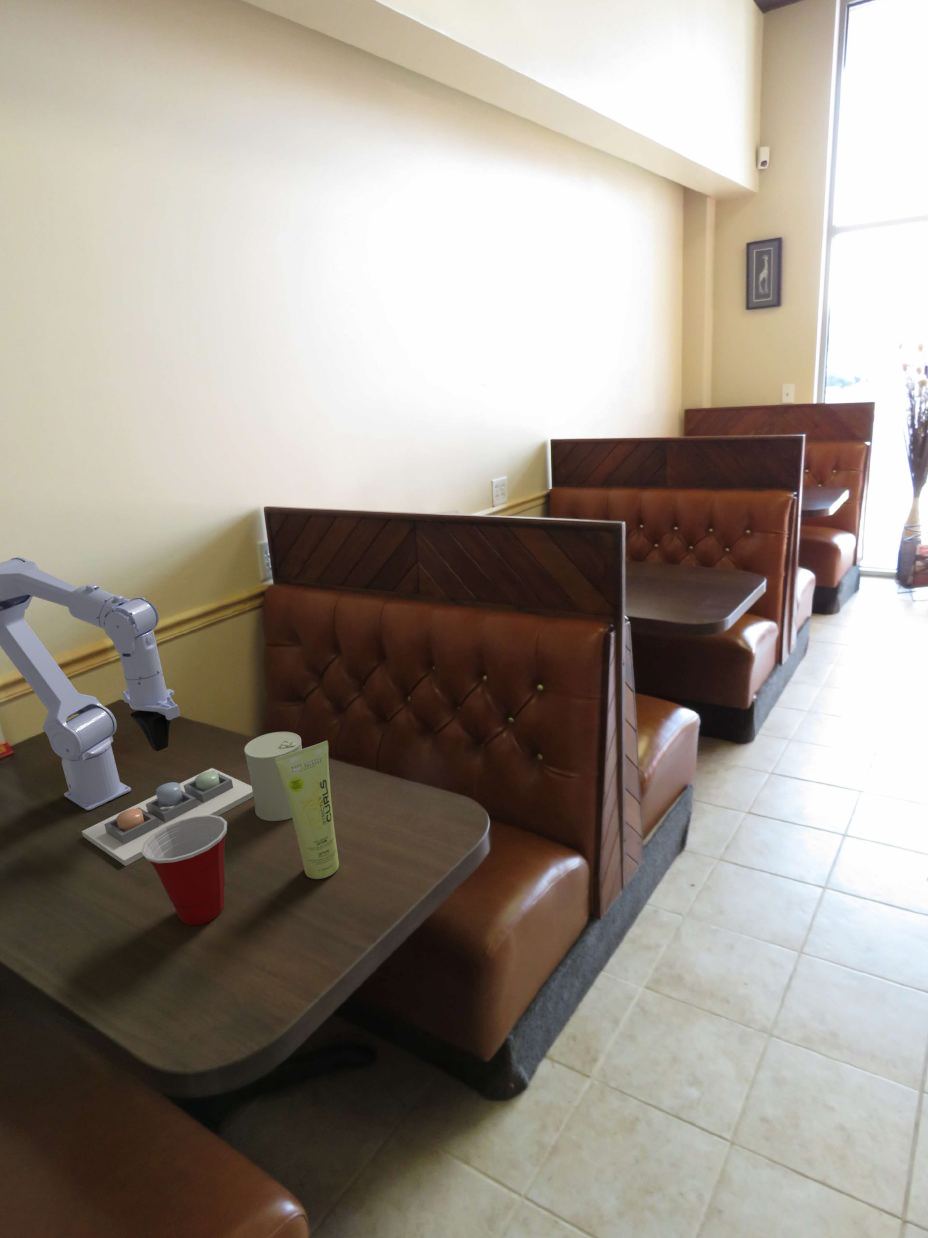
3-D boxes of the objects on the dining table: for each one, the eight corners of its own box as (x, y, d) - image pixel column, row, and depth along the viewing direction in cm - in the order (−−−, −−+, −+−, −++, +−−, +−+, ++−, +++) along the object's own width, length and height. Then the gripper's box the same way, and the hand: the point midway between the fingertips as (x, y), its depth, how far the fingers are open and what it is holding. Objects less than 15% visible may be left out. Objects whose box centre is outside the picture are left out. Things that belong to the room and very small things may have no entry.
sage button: (193, 791, 129) (190, 778, 129) (212, 781, 132) (210, 769, 131) (205, 797, 127) (203, 784, 126) (224, 787, 130) (222, 775, 129)
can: (297, 822, 120) (286, 756, 116) (245, 820, 122) (232, 754, 118) (319, 792, 128) (309, 729, 125) (270, 790, 130) (259, 728, 127)
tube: (327, 885, 104) (307, 760, 98) (295, 880, 105) (274, 757, 100) (345, 860, 109) (327, 740, 103) (314, 856, 111) (295, 737, 105)
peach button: (115, 830, 119) (111, 817, 119) (137, 819, 122) (134, 806, 121) (126, 837, 117) (123, 824, 116) (149, 826, 120) (146, 813, 119)
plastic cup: (214, 875, 108) (198, 802, 105) (258, 902, 101) (243, 826, 98) (143, 918, 100) (124, 841, 97) (187, 951, 94) (167, 869, 90)
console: (83, 836, 121) (79, 822, 120) (212, 772, 138) (210, 760, 137) (125, 866, 112) (121, 851, 111) (258, 794, 129) (255, 780, 129)
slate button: (154, 803, 124) (151, 790, 123) (175, 792, 127) (172, 780, 126) (166, 809, 122) (163, 796, 121) (187, 799, 124) (184, 786, 124)
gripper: (189, 672, 120) (205, 748, 124) (144, 658, 129) (160, 729, 133) (148, 688, 115) (166, 766, 119) (104, 671, 124) (122, 745, 128)
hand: (160, 748), depth 126 cm, fingers closed
